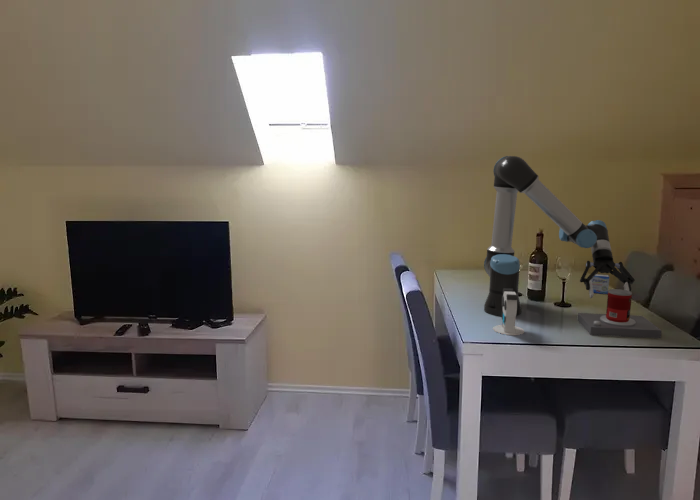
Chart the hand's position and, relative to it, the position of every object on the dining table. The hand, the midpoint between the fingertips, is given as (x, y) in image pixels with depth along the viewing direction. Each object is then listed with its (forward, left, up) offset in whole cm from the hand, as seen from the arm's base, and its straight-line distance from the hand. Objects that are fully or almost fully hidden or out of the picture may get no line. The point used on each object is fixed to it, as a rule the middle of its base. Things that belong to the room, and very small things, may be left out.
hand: (610, 297), depth 208 cm
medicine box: (+10, +47, -10) cm, 49 cm away
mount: (0, -10, -10) cm, 14 cm away
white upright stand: (-41, -18, -10) cm, 46 cm away
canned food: (0, -10, -6) cm, 12 cm away
